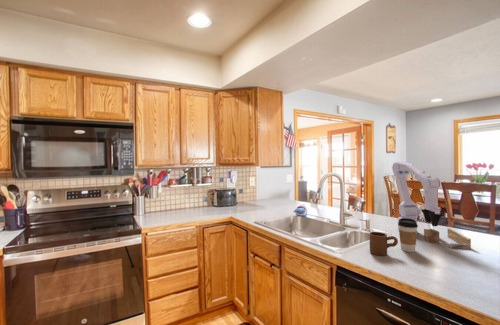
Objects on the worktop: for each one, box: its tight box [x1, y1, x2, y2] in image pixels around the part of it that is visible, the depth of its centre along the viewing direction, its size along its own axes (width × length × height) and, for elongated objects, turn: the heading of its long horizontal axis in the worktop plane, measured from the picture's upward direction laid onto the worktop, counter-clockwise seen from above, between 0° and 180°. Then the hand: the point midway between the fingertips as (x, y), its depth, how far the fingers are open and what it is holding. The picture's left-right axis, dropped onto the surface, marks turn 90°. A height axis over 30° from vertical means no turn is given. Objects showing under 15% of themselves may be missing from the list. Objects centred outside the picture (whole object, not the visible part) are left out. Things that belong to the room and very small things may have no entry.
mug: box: [369, 231, 399, 257], centre depth 116 cm, size 12×8×9 cm, turn 62°
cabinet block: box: [423, 228, 440, 244], centre depth 132 cm, size 6×4×7 cm
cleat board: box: [439, 228, 472, 250], centre depth 130 cm, size 9×19×5 cm, turn 165°
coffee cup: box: [397, 218, 419, 253], centre depth 120 cm, size 8×8×15 cm
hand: (431, 224), depth 132 cm, fingers open, 7 cm apart
